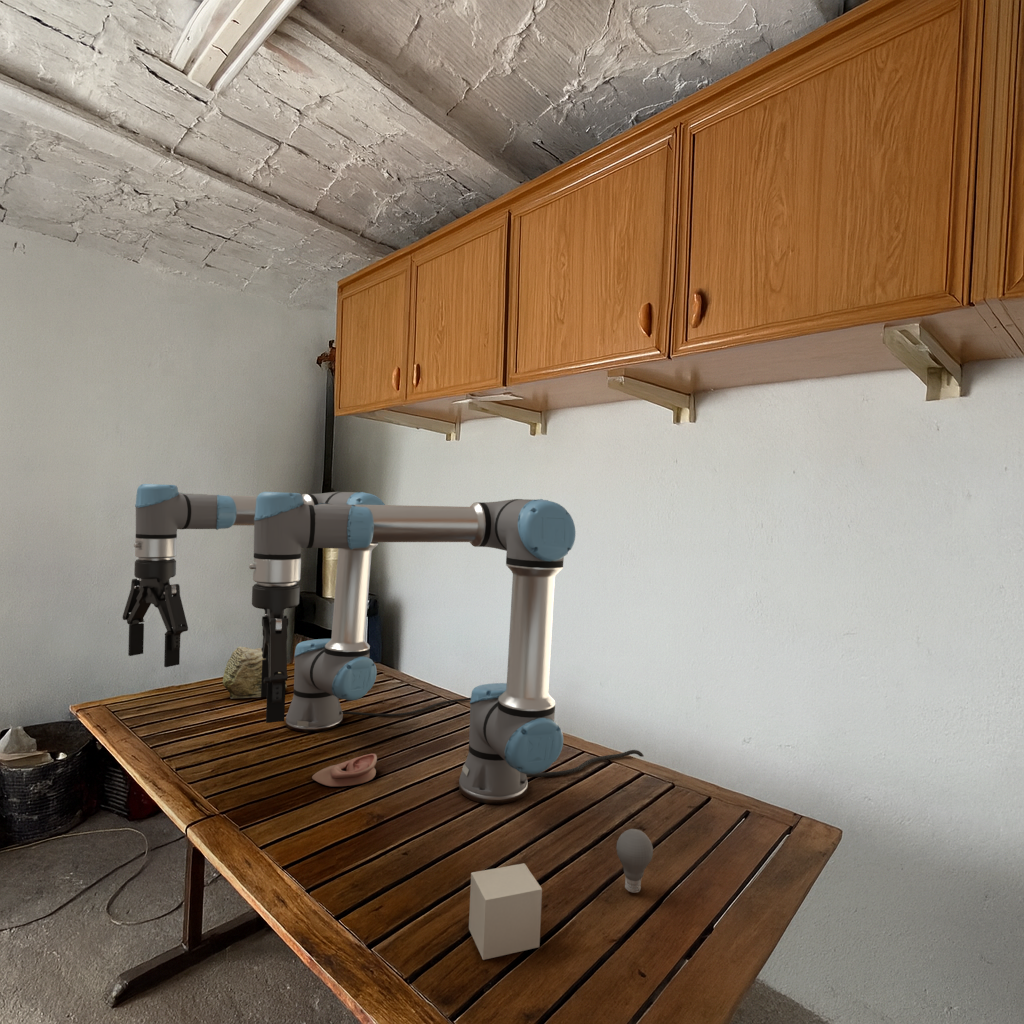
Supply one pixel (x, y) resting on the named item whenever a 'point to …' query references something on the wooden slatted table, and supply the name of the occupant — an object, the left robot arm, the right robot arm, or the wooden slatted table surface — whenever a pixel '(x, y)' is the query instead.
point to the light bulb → (634, 857)
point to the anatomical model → (348, 772)
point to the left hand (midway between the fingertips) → (153, 660)
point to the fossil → (244, 673)
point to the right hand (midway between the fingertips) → (271, 708)
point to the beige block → (505, 910)
